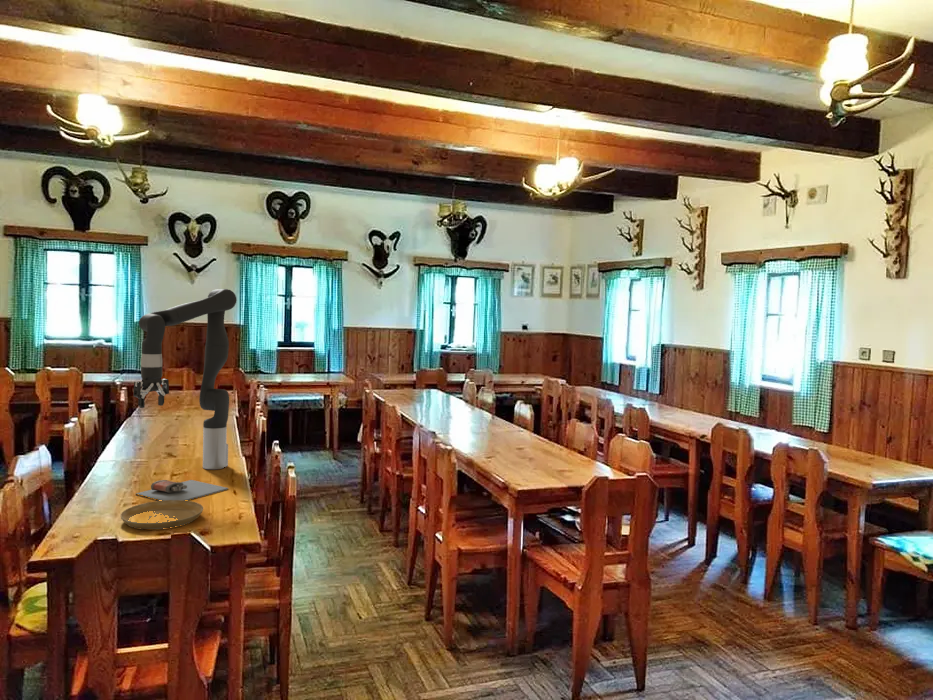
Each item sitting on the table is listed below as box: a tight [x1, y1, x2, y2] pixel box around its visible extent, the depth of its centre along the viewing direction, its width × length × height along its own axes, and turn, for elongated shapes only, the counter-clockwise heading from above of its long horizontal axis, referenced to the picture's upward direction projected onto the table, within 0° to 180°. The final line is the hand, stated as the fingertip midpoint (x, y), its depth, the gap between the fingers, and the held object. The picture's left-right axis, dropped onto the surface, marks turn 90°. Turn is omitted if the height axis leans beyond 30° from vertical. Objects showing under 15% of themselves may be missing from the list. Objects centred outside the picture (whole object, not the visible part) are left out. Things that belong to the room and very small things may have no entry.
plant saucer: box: [120, 500, 204, 530], centre depth 219 cm, size 24×24×3 cm
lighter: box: [150, 479, 187, 493], centre depth 249 cm, size 8×3×10 cm
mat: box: [135, 479, 229, 501], centre depth 251 cm, size 24×20×1 cm
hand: (151, 406), depth 269 cm, fingers open, 8 cm apart
